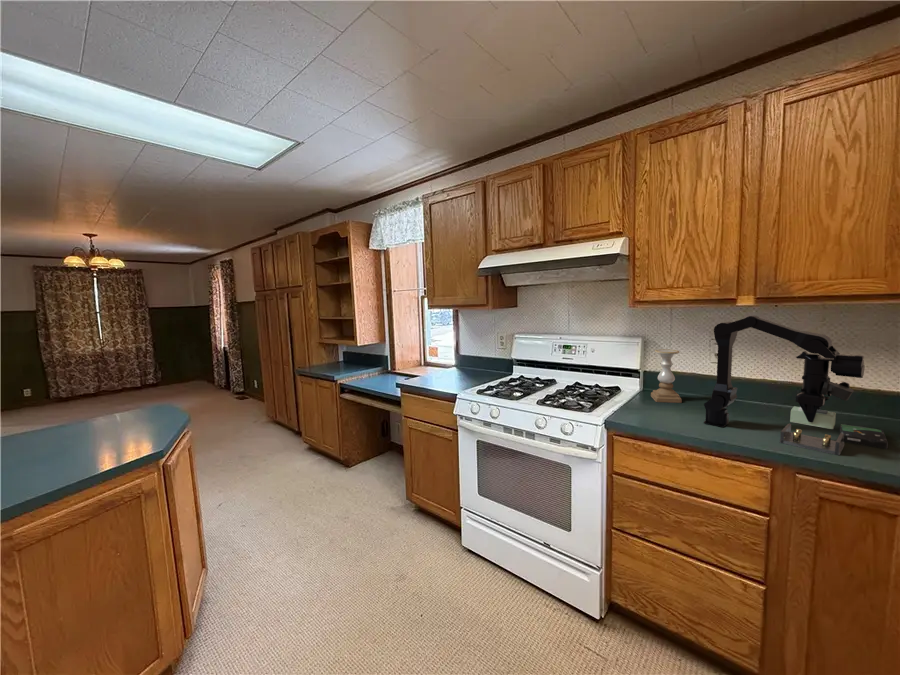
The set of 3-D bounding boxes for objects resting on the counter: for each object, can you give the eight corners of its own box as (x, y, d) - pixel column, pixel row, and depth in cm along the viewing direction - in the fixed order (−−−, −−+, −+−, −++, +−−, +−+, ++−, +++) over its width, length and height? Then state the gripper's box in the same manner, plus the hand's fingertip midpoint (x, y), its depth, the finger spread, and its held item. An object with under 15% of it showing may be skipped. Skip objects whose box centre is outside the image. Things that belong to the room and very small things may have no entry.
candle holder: (656, 402, 175) (657, 352, 172) (650, 396, 185) (651, 349, 183) (682, 403, 172) (683, 352, 169) (674, 396, 182) (676, 349, 180)
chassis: (779, 442, 124) (780, 431, 124) (786, 434, 131) (787, 423, 131) (839, 455, 113) (840, 442, 113) (844, 445, 120) (845, 433, 120)
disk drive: (888, 451, 116) (882, 436, 127) (889, 442, 116) (882, 428, 126) (840, 443, 123) (838, 430, 134) (841, 435, 123) (839, 422, 134)
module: (790, 421, 123) (790, 408, 123) (793, 417, 127) (794, 404, 127) (832, 429, 116) (833, 415, 115) (834, 424, 119) (836, 410, 119)
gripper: (848, 382, 108) (844, 433, 109) (855, 372, 119) (851, 419, 121) (796, 376, 116) (793, 424, 118) (808, 367, 128) (805, 411, 129)
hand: (812, 419), depth 121 cm, fingers closed on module, 6 cm apart
